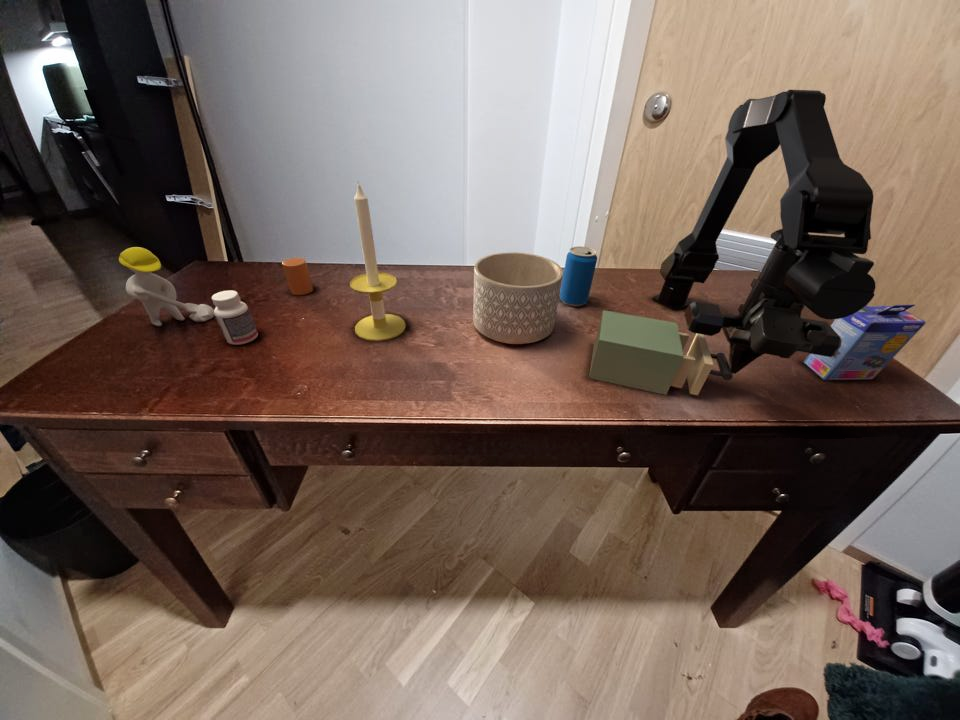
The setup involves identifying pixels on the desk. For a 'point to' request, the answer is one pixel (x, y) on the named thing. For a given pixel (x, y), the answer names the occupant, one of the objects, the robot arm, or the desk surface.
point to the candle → (373, 282)
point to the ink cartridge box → (866, 342)
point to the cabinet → (636, 352)
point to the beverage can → (578, 276)
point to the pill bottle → (234, 318)
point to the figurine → (156, 288)
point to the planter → (516, 296)
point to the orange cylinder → (297, 276)
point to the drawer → (699, 364)
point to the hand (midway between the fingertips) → (731, 371)
